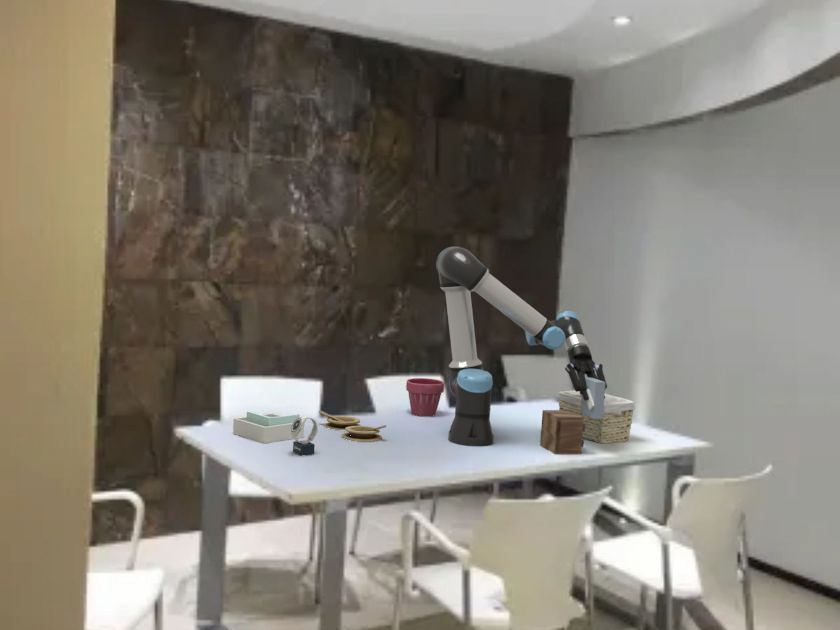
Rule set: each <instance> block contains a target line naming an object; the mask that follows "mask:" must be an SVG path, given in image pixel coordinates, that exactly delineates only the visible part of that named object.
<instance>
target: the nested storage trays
mask: <svg viewBox="0 0 840 630" xmlns="http://www.w3.org/2000/svg"><path fill="white" fill-rule="evenodd" d="M263 415H264V416H267V417H278V416H282V415H280V414H276V413H273V412H272V413H265V414H263ZM246 420H247V416H242V417H235V418H233V424H232V434H233V435H236V436H238V437H243V438H246V439H249V440H252V441H256V442H258V443H262V444H270V443H276V442H283V441H287V440H288V441H289V440H294V439H293V437H292V434H291V426H292V424H293V423H289V424H282V425H275V426H268V427H264V426H261V425H258V424H254V423H251V422H247V421H246ZM304 432H305V426H304V427H303V429H302V430H301V431H300V433H298V436H296V437H297V439H301V437H302V438H304V435H305V433H304Z"/></svg>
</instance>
